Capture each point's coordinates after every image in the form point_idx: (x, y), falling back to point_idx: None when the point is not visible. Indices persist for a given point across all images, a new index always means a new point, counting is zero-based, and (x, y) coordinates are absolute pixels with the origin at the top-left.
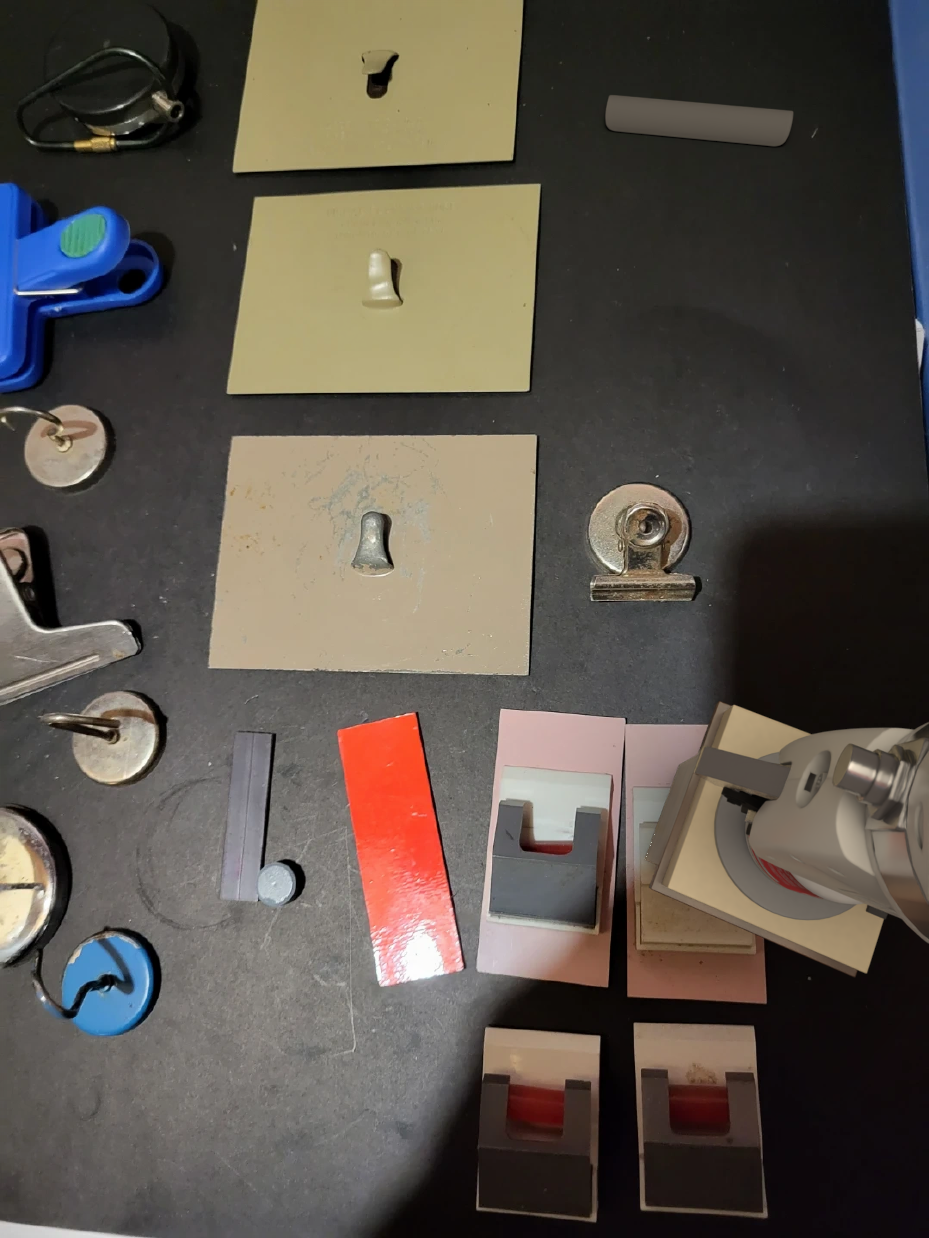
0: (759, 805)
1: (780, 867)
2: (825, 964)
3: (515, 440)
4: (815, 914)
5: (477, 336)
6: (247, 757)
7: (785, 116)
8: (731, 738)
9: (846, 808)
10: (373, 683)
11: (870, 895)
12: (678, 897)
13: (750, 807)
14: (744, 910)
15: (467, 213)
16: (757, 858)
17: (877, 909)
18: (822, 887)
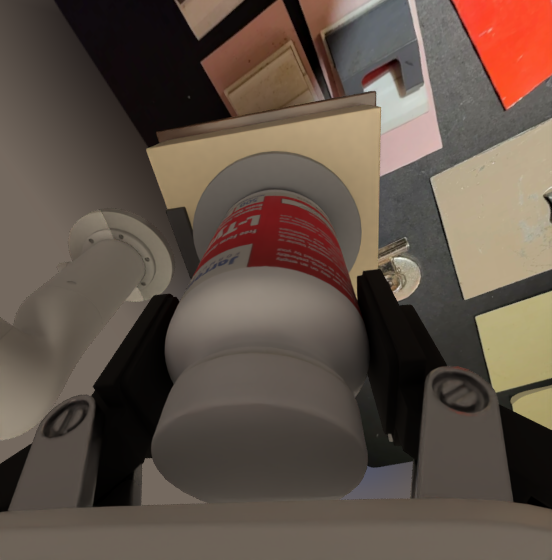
0: (523, 485)
1: (532, 539)
2: (184, 127)
3: (476, 293)
4: (222, 178)
5: (512, 329)
6: None
7: (392, 440)
8: None
9: None
10: (545, 111)
11: None
12: (343, 101)
13: (510, 436)
14: (287, 136)
15: (531, 373)
16: (314, 211)
17: (177, 215)
18: (263, 300)
